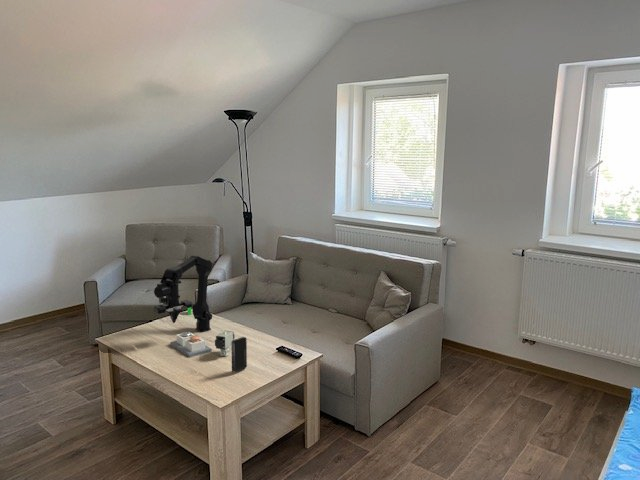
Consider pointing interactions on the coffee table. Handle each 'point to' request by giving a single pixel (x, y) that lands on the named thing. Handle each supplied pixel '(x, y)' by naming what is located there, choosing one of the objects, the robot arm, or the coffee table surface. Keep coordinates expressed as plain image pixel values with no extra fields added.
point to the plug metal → (185, 334)
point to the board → (190, 346)
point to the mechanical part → (189, 311)
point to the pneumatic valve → (224, 342)
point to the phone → (239, 354)
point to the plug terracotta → (195, 338)
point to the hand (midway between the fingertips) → (173, 322)
